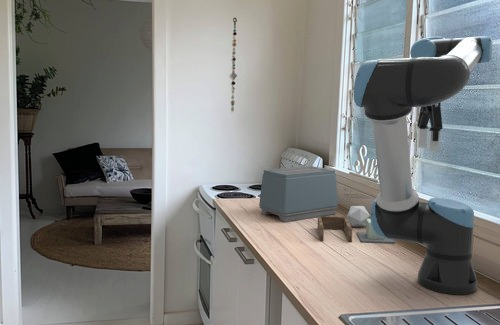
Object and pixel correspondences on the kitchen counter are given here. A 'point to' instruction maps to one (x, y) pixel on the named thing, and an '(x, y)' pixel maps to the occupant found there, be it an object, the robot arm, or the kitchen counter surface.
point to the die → (357, 216)
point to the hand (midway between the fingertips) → (427, 149)
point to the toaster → (298, 193)
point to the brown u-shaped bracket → (334, 225)
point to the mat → (365, 239)
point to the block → (371, 231)
